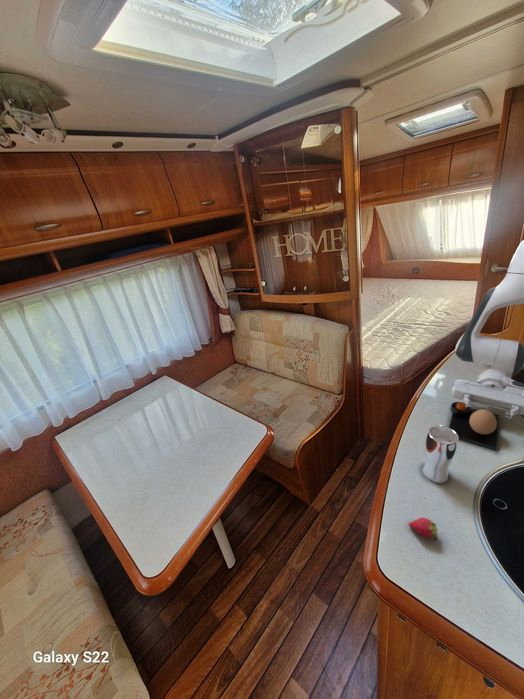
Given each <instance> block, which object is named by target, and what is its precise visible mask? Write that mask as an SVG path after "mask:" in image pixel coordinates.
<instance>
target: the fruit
mask: <svg viewBox="0 0 524 699" xmlns="http://www.w3.org/2000/svg"><path fill="white" fill-rule="evenodd" d="M408 526H409V527H410V528H411V529H413V531H415V532H416V533H417V535H419V536H421V537H423V538H425V539H433V540H434V541H435V542H436V541H438V528H437V523H436V522H433V521H432V520H430V519H429V518H427V517H419V518H417V519H414V520H412V521H409V522H408Z"/></svg>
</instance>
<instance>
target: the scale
mask: <svg viewBox="0 0 524 699" xmlns="http://www.w3.org/2000/svg"><path fill="white" fill-rule="evenodd" d="M458 402H459V401H454V402H452V403H451V405H450V411H451V412H452V414H451V418H450V421H449V426H448V427H449V428H451V429H452V430H454V431H455V432H456V433H457V435H458V437H459V439H458V441H462V442H464V443H468V444H470V445H471V444H472V445H474V446H478V447H481V448H484V449H488V450H491V451H494V452H496V451H497V448H498V434H499V419H500V415H499V414H496V413H493V415H494V416H495V418H496V421H497V426H496V429H495V430H494V431H493V432H492V433H490V434H479V433H477V432H475V431H474V430H473V429H472V428H471V426H470V423H469V421H470V417H471V415H472V414H473V413H474V412H475V411H477V410H478V409H476V408H472V407H471V408H467V409H466V410H464V411H463V410H459V409H457V407H456V406H457V403H458Z"/></svg>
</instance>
